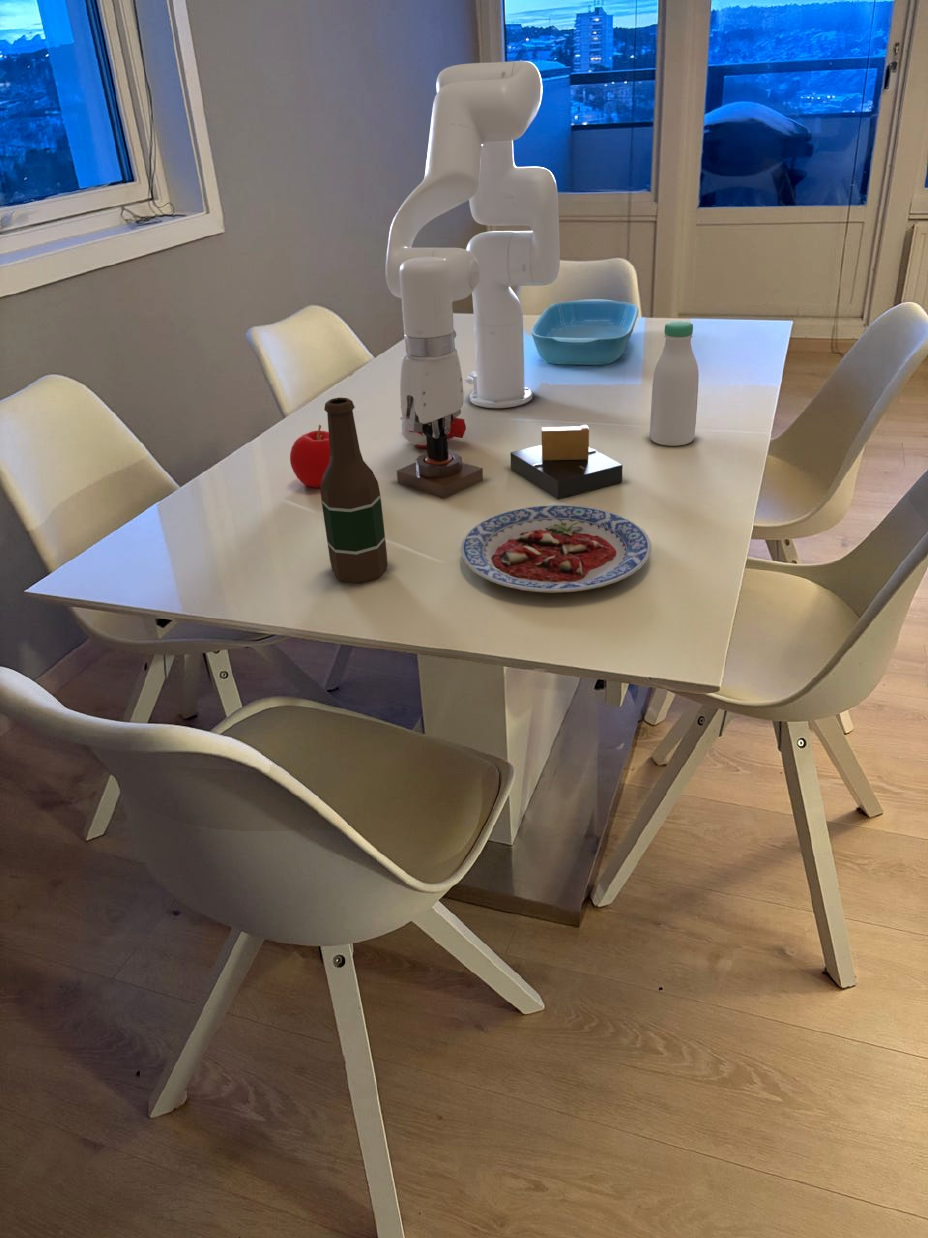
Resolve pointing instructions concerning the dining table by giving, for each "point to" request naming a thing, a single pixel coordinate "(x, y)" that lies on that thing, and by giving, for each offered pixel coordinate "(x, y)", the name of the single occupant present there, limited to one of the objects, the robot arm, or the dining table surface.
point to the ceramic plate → (556, 548)
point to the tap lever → (565, 443)
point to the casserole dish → (584, 331)
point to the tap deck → (566, 472)
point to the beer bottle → (351, 502)
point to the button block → (440, 476)
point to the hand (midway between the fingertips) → (438, 458)
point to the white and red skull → (420, 440)
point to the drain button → (435, 462)
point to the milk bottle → (675, 388)
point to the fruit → (311, 457)
